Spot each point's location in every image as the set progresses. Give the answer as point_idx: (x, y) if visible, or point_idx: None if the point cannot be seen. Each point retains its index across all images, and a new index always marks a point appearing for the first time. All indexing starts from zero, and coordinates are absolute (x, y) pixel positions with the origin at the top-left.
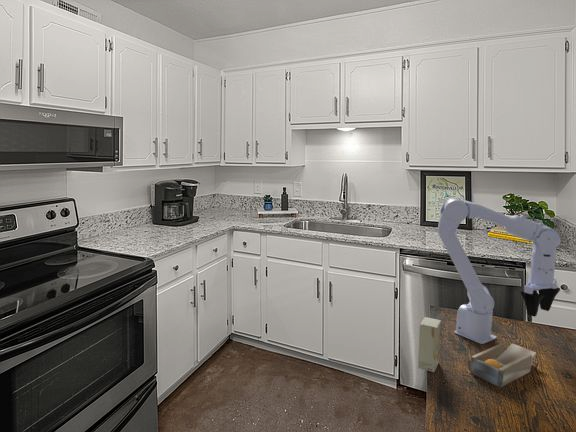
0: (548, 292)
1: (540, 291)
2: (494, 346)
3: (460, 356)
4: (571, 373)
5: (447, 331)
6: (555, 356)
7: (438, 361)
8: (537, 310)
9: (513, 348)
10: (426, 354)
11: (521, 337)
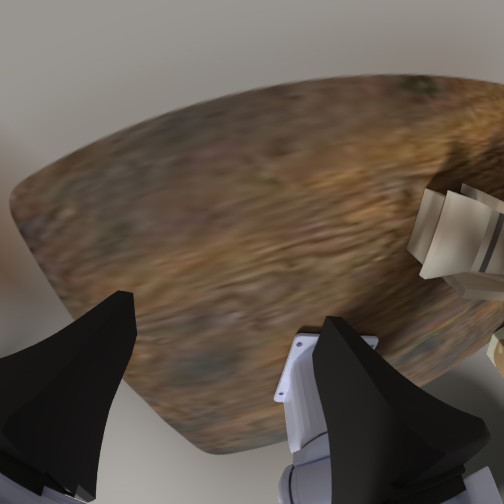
0: (68, 431)
1: (94, 454)
2: (488, 298)
3: (460, 328)
4: (397, 74)
5: None
6: (296, 138)
7: (497, 334)
8: (355, 342)
9: (443, 262)
10: None
11: (211, 285)
